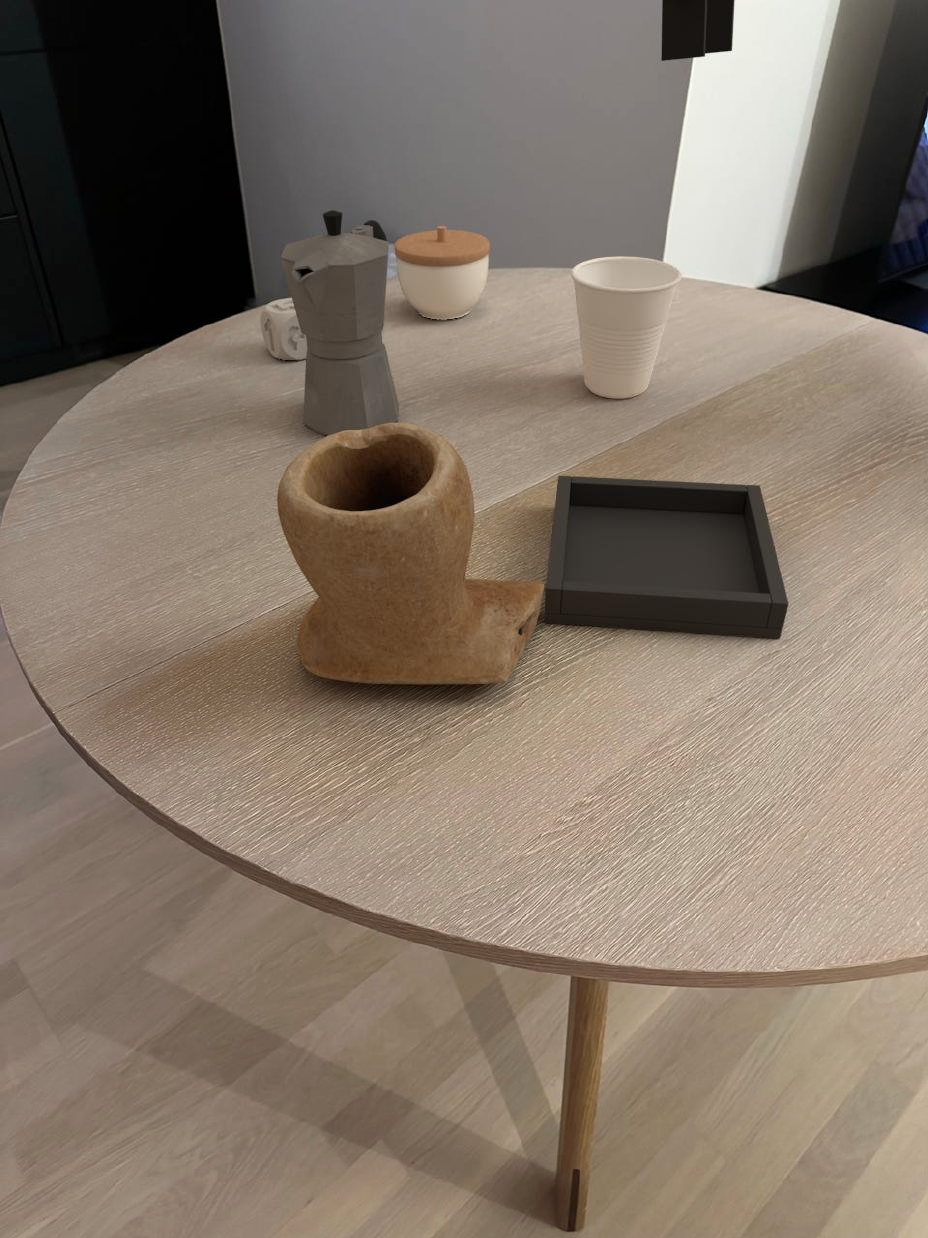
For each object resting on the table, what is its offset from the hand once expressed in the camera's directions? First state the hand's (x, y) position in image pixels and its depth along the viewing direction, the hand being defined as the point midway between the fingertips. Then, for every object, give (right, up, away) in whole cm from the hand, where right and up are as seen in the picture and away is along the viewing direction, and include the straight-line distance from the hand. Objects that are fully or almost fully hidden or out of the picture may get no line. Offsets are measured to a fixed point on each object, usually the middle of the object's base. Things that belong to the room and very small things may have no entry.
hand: (699, 56), depth 66 cm
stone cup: (-20, -43, -8) cm, 48 cm away
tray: (-3, -36, 0) cm, 37 cm away
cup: (-2, -18, +24) cm, 30 cm away
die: (-35, -12, +33) cm, 49 cm away
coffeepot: (-27, -21, +21) cm, 40 cm away
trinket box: (-19, -4, +42) cm, 47 cm away
